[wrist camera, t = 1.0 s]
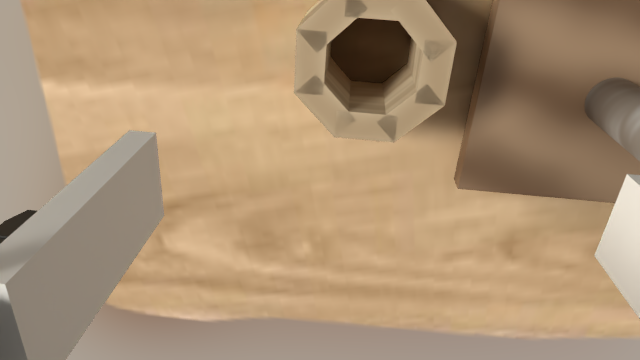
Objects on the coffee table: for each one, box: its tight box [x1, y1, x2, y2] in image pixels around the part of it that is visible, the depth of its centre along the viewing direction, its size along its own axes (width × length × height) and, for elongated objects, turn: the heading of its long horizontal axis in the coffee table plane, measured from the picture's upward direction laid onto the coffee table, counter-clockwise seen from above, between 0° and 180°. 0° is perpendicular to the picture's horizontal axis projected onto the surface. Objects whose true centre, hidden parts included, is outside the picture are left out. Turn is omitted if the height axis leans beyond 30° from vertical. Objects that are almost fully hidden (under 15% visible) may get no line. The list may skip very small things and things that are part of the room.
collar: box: [294, 0, 457, 143], centre depth 28 cm, size 8×8×6 cm
